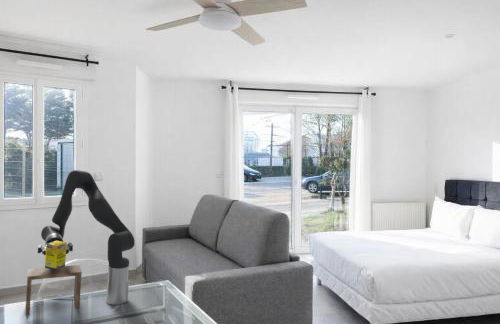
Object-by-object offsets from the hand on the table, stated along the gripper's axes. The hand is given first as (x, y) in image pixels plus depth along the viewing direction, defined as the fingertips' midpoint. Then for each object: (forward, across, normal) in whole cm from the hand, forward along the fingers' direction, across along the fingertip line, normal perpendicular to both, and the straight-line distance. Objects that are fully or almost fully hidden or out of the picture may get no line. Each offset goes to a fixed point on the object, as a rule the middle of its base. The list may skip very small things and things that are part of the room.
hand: (56, 252), depth 167 cm
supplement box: (0, 0, +7) cm, 7 cm away
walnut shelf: (-1, 0, +25) cm, 25 cm away
